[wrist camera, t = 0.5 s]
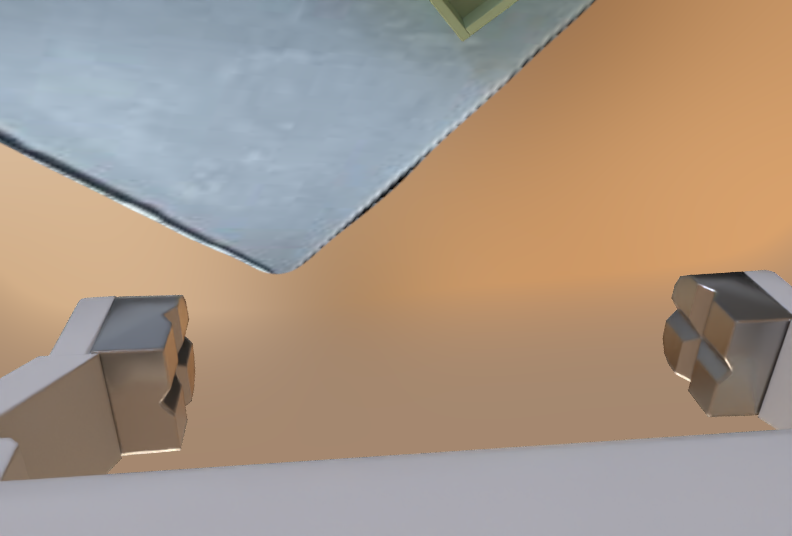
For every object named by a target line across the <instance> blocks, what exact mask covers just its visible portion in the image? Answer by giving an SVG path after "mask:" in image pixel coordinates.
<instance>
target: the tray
mask: <svg viewBox="0 0 792 536" xmlns="http://www.w3.org/2000/svg"><path fill="white" fill-rule="evenodd" d="M429 1H430V2H431V3H432V4H433V6H434V7H435V8H436V9H437V11H438V12H439V13H440V14H441V16H442V17H443V18H444V19H445V21H446V22H447V23H448V24H449V26H450V27H451V28H452V29H453V31H454V32H455V33H456V34H457V36H458V37H459V38H460V39H461V41H464V40H466V39H467V38H468V37H470V35H472V34H474V33H475V32H476V31H478V30H479V29H480V28H482V27H483V26H484V25H486V24H487V23H488V22H490V21H491V20H492V19H494V18H495V17H496V16H498V15H499V14H500V13H502V12H503V11H505V10H506V9H507V8H509V7H510V6H511V5H513V4H514V3H515V2H517V1H518V0H429Z"/></svg>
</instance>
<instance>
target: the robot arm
mask: <svg viewBox="0 0 792 536" xmlns="http://www.w3.org/2000/svg"><path fill="white" fill-rule="evenodd" d="M672 300H673V302H674V304H675V305H676V307H677V310H676V311H675V312H674V313H673V314H672V315H671V316H670V317H669V318H668V319H667V320H666V324H665V329H664V334H663V345H664V354H665V356H666V359H667V362H668V364H669V366H670V367H671V368H672V370H673V371H674V372H675V374H677V375H679V376H681V377H682V378H684V379H686V380H688V381H690V386H689V389H688V391H689V392H690V394H691V395H692V396H693V398H694V399H695V400H696V402H697V403H698V404H699V406H700V407H701V408H702V409H703V411H704V412H705V413H706V415H707V416H708V417H717V416H745V415H758V418H760V419H762V420H763V421H765V422H766V423H768V424H769V425H771V426H773V427H774V428H776V429H777V430H766V431H753V432H752V431H751V432H736V433H721V434H706V435H692V436H676V437H662V438H647V439H631V440H616V441H601V442H586V443H571V444H556V445H541V446H525V447H510V448H496V449H482V450H481V449H480V450H466V451H451V452H435V453H421V454H405V455H390V456H375V457H361V458H360V457H359V458H344V459H330V460H315V461H299V462H285V463H269V464H254V465H240V466H224V467H209V468H195V469H179V470H164V471H149V472H134V473H119V474H107V473H108V472H109V471H110V470H111V469H112V468H113V467H114V466H115V465H116V464H117V463H118V462H119V461H120V460H121V459H122V455H133V454H143V453H154V452H166V451H178V450H181V446H182V441H183V437H184V433H185V429H186V424H187V414H186V407H185V406H186V405H187V404H189V403H190V402H191V401H192V396H193V391H194V381H195V361H194V351H193V344H192V342H191V341H190V340H188V339H187V338H186V337H185V334H186V330H187V325H188V322H189V317H188V311H187V306H186V301H185V299H184V297H183V295H172V296H170V295H169V296H126V297H116V296H109V297H93V298H84V299H81V300H80V301H79V302H78V304H77V306H76V308H75V309H74V311H73V313H72V315H71V317H70V318H69V320H68V322H67V324H66V326H65V327H64V329H63V331H62V333H61V335H60V337H59V339H58V340H57V342H56V344H55V346H54V348H53V349H52V351H51V353H50V355H49V356H39V357H37V358H35V359H33V360H32V361H30V362H28V363H26V364H25V365H23V366H21V367H19V368H18V369H16V370H14V371H12V372H11V373H9V374H7V375H5V376H4V377H2V378H0V536H792V286H790V285H789V284H788V283H787V282H785V281H784V280H783V279H782V278H781V277H779V276H778V275H777V274H775V272H772V271H767V270H758V271H746V272H730V273H716V274H700V275H687V276H680V278H679V279H678V281H677V283H676V284H675V287H674V291H673V294H672Z"/></svg>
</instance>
